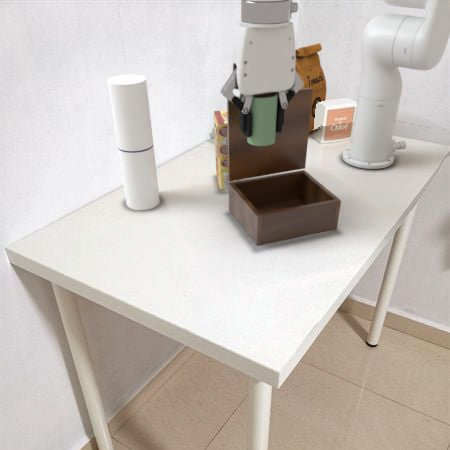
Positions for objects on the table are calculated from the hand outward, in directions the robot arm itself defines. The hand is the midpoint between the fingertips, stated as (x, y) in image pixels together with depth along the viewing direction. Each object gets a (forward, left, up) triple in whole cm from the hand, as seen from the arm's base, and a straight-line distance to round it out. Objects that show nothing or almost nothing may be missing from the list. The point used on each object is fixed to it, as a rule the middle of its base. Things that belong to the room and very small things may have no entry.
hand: (261, 131), depth 83 cm
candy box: (0, -20, -19) cm, 27 cm away
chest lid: (-4, -5, -3) cm, 8 cm away
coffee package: (-32, -45, -19) cm, 58 cm away
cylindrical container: (+20, -18, -19) cm, 32 cm away
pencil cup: (0, 0, -2) cm, 2 cm away
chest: (-4, +1, -18) cm, 19 cm away
